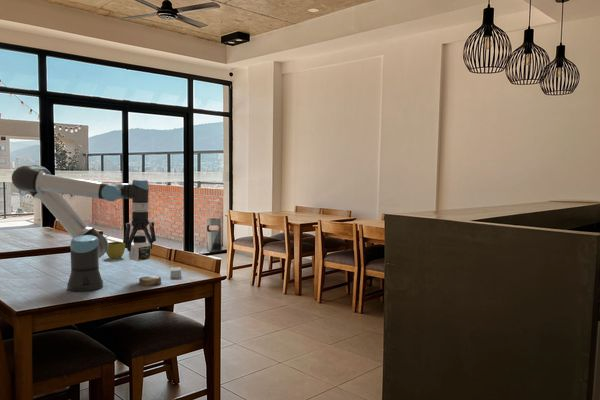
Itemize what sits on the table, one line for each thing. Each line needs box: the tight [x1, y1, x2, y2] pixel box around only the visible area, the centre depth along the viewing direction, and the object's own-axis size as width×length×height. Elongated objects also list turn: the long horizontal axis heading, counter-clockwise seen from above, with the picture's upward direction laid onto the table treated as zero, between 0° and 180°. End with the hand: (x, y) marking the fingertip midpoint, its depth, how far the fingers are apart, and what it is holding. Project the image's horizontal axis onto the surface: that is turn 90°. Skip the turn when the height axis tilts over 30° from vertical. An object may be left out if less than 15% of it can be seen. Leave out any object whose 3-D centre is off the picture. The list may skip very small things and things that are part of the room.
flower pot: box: [105, 241, 126, 259], centre depth 289 cm, size 9×9×9 cm
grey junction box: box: [170, 266, 182, 279], centre depth 244 cm, size 7×5×4 cm
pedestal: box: [138, 275, 162, 287], centre depth 229 cm, size 10×10×3 cm
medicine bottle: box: [128, 234, 151, 262], centre depth 236 cm, size 7×7×12 cm
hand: (139, 256), depth 236 cm, fingers closed on medicine bottle, 8 cm apart
